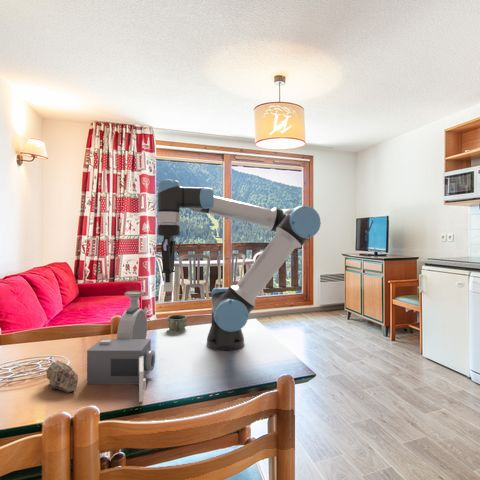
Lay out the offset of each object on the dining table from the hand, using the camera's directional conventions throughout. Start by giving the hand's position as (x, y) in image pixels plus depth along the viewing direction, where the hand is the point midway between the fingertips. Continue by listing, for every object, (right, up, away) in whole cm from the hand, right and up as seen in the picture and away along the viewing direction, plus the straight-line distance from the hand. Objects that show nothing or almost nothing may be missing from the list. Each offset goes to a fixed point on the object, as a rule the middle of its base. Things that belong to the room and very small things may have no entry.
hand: (168, 291), depth 109 cm
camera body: (-11, -25, -13) cm, 30 cm away
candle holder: (-19, -24, +19) cm, 36 cm away
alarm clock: (-13, -25, +2) cm, 28 cm away
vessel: (-4, -24, +34) cm, 42 cm away
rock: (-26, -25, -19) cm, 41 cm away
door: (-2, -24, -23) cm, 34 cm away
